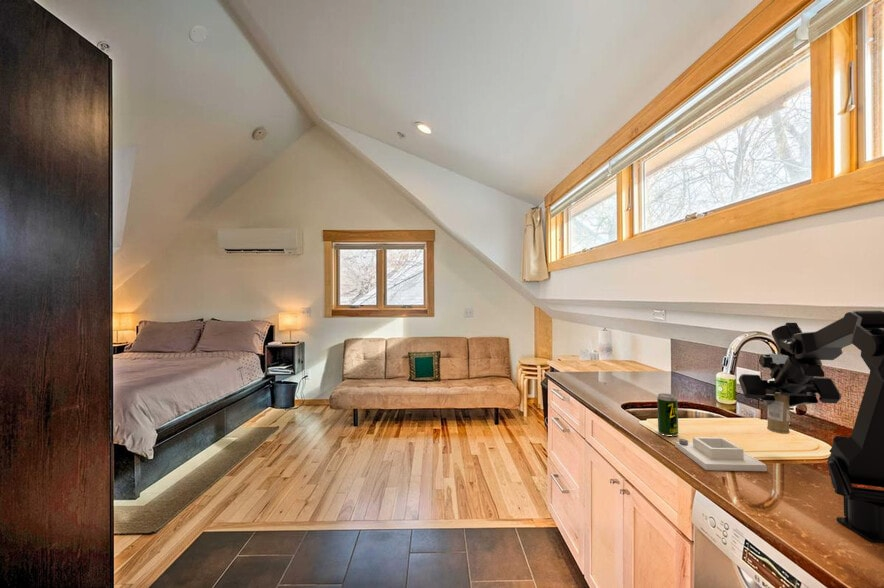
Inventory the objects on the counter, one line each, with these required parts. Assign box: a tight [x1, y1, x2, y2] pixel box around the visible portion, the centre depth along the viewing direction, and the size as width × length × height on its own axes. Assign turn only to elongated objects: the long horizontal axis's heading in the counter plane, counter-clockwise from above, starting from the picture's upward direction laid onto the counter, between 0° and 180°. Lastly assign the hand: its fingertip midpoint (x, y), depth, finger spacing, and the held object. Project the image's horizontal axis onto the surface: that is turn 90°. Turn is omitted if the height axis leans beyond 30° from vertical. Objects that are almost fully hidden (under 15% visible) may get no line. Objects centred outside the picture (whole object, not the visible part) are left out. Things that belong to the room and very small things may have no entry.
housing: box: [674, 436, 768, 472], centre depth 98 cm, size 14×14×4 cm
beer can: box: [656, 392, 679, 437], centre depth 115 cm, size 5×5×12 cm
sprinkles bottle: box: [766, 379, 791, 435], centre depth 98 cm, size 5×5×14 cm
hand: (776, 404), depth 99 cm, fingers closed on sprinkles bottle, 4 cm apart
